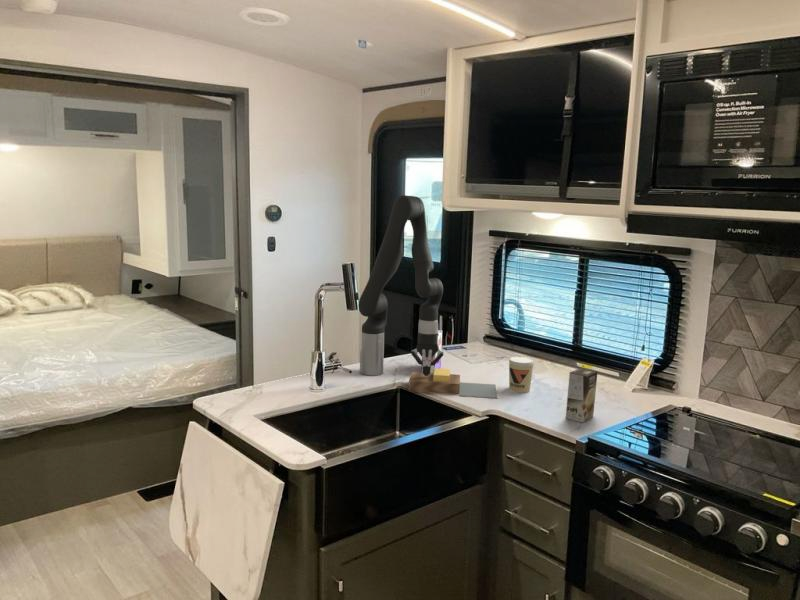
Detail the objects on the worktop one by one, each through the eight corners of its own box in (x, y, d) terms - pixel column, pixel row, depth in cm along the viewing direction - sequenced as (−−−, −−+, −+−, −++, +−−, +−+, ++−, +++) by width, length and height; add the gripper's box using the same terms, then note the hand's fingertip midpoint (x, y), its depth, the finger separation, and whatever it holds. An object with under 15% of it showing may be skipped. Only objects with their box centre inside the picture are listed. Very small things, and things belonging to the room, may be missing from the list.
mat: (459, 396, 227) (459, 395, 227) (459, 383, 243) (459, 382, 243) (497, 398, 226) (497, 397, 226) (495, 385, 242) (495, 384, 242)
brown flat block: (408, 391, 231) (408, 381, 231) (411, 381, 243) (411, 371, 242) (459, 394, 229) (459, 384, 229) (459, 384, 241) (460, 374, 240)
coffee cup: (503, 391, 235) (505, 360, 233) (511, 384, 243) (513, 355, 241) (527, 395, 231) (530, 364, 229) (534, 388, 239) (536, 358, 237)
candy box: (434, 375, 252) (436, 336, 249) (420, 374, 253) (422, 335, 250) (441, 367, 265) (442, 329, 262) (428, 365, 266) (429, 328, 263)
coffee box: (583, 423, 204) (587, 376, 202) (565, 418, 208) (568, 372, 206) (594, 416, 211) (598, 370, 209) (576, 411, 215) (580, 367, 213)
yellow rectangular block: (433, 381, 231) (433, 374, 231) (434, 374, 240) (434, 368, 240) (449, 382, 231) (449, 375, 230) (449, 375, 239) (450, 369, 239)
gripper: (409, 332, 229) (408, 377, 232) (445, 334, 228) (443, 379, 231) (411, 328, 237) (410, 371, 240) (445, 329, 235) (444, 373, 238)
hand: (426, 375), depth 235 cm, fingers closed
